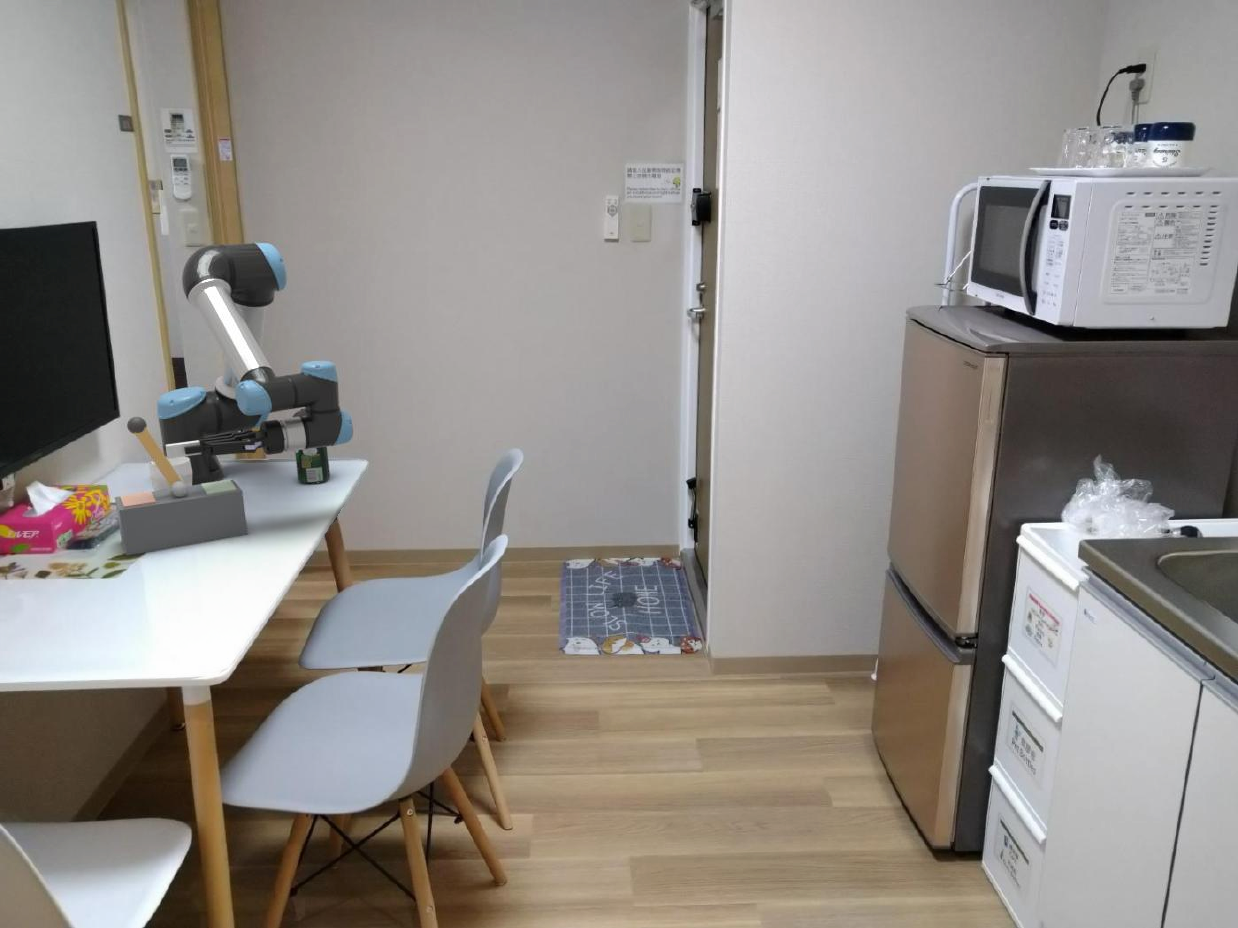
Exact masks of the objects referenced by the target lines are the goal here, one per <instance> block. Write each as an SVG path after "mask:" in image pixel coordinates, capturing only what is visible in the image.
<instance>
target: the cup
mask: <svg viewBox="0 0 1238 928" xmlns="http://www.w3.org/2000/svg"><path fill="white" fill-rule="evenodd" d="M166 458H167V460H168V461H169V463H170V464H171V465H172V467H173V468H174V470H175V471H176V473H177V474H178V476H179V477H181V478H182V479H183V481H184V482H185V484H186V486H192V468H191V463H190V459H189V458H188V457H185V456H184V457H177V458H170V459H168V457H166ZM148 466H149V467H148V468H149V478H150V480H151V481H150V482H151V484H152V485H151V486H152V487H153V491H159V490H166V489H171V488H170V486H169V483H168V482H167V480H166V479H165V477H164V476H163V474H162V473H161V471H160V470H159V469H158V467H157V466H156V464H155V463H154V461H153V460H152V459H151V460H150V461H149V462H148Z"/></svg>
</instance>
